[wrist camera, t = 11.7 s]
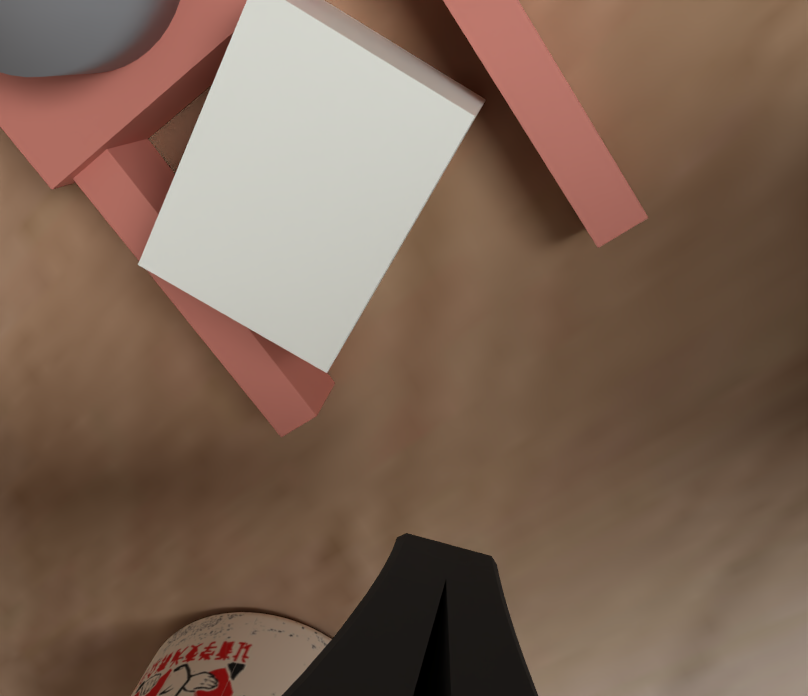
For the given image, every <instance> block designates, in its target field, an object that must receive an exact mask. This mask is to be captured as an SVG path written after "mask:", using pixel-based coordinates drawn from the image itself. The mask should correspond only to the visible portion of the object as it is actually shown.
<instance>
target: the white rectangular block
mask: <svg viewBox="0 0 808 696" xmlns="http://www.w3.org/2000/svg"><path fill="white" fill-rule="evenodd" d="M485 101H486V99H484V98H483V97H481V96H479V95H478V94H476V93H474V92H473V91H471V90H470V89H468V88H466V87H465V86H463V85H461V84H460V83H458V82H457V81H455V80H453V79H452V78H450V77H448V76H447V75H445V74H444V73H442V72H440V71H439V70H437V69H435V68H434V67H432V66H430V65H429V64H427V63H426V62H424V61H422V60H421V59H419V58H417V57H416V56H414V55H413V54H411V53H409V52H408V51H406V50H404V49H403V48H401V47H400V46H398V45H396V44H395V43H393V42H391V41H390V40H388V39H387V38H385V37H383V36H382V35H380V34H378V33H377V32H375V31H374V30H372V29H370V28H369V27H367V26H365V25H364V24H362V23H360V22H359V21H357V20H356V19H354V18H352V17H351V16H349V15H347V14H346V13H344V12H343V11H341V10H339V9H338V8H336V7H334V6H333V5H331V4H330V3H328V2H326V1H325V0H247V1H246V4H245V6H244V9H243V11H242V14H241V16H240V18H239V21H238V23H237V26H236V28H235V31H234V33H233V35H232V38H231V40H230V43H229V45H228V47H227V50H226V52H225V55H224V57H223V60H222V62H221V64H220V67H219V69H218V72H217V74H216V77H215V79H214V81H213V84H212V86H211V89H210V91H209V94H208V96H207V98H206V101H205V103H204V106H203V108H202V111H201V113H200V115H199V118H198V120H197V123H196V125H195V127H194V130H193V132H192V135H191V137H190V140H189V142H188V144H187V147H186V149H185V152H184V154H183V157H182V159H181V161H180V164H179V166H178V169H177V171H176V174H175V176H174V178H173V181H172V183H171V186H170V188H169V191H168V193H167V195H166V198H165V200H164V203H163V205H162V207H161V210H160V212H159V215H158V217H157V220H156V222H155V224H154V227H153V229H152V232H151V234H150V237H149V239H148V241H147V244H146V246H145V249H144V251H143V254H142V256H141V258H140V261H139V263H138V265H139V266H141V267H143V268H144V269H146V270H148V271H150V272H151V273H153V274H155V275H157V276H158V277H160V278H162V279H164V280H165V281H167V282H169V283H171V284H172V285H174V286H176V287H178V288H179V289H181V290H183V291H185V292H186V293H188V294H190V295H191V296H193V297H195V298H197V299H198V300H200V301H202V302H204V303H205V304H207V305H209V306H211V307H212V308H214V309H216V310H218V311H219V312H221V313H223V314H225V315H226V316H228V317H230V318H232V319H233V320H235V321H237V322H239V323H240V324H242V325H244V326H246V327H247V328H249V329H251V330H252V331H254V332H256V333H258V334H259V335H261V336H263V337H265V338H266V339H268V340H270V341H272V342H273V343H275V344H277V345H279V346H280V347H282V348H284V349H286V350H287V351H289V352H291V353H293V354H294V355H296V356H298V357H300V358H301V359H303V360H305V361H307V362H308V363H310V364H312V365H313V366H315V367H317V368H319V369H320V370H322V371H324V372H326V373H327V372H328V370H329V369H330V367H331V365H332V363H333V362H334V360H335V358H336V357H337V355H338V353H339V352H340V350H341V348H342V347H343V345H344V343H345V342H346V340H347V338H348V337H349V335H350V333H351V331H352V330H353V328H354V326H355V325H356V323H357V321H358V320H359V318H360V316H361V315H362V313H363V311H364V310H365V308H366V306H367V304H368V303H369V301H370V299H371V298H372V296H373V294H374V292H375V291H376V289H377V287H378V285H379V284H380V282H381V280H382V279H383V277H384V275H385V273H386V272H387V270H388V268H389V266H390V265H391V263H392V261H393V260H394V258H395V256H396V254H397V253H398V251H399V249H400V247H401V246H402V244H403V242H404V241H405V239H406V237H407V235H408V234H409V232H410V230H411V228H412V227H413V225H414V223H415V222H416V220H417V218H418V216H419V215H420V213H421V211H422V209H423V208H424V206H425V204H426V203H427V201H428V199H429V197H430V196H431V194H432V192H433V191H434V189H435V187H436V185H437V184H438V182H439V180H440V178H441V177H442V175H443V173H444V172H445V170H446V168H447V166H448V165H449V163H450V161H451V159H452V158H453V156H454V154H455V153H456V151H457V149H458V147H459V146H460V144H461V142H462V140H463V139H464V137H465V135H466V134H467V132H468V130H469V128H470V127H471V125H472V123H473V121H474V120H475V118H476V116H477V115H478V113H479V111H480V109H481V108H482V106H483V104H484V102H485Z"/></svg>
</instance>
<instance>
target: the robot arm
mask: <svg viewBox="0 0 808 696" xmlns="http://www.w3.org/2000/svg"><path fill="white" fill-rule="evenodd" d="M281 696H538V694H537V691H536V689H535V686H534V683H533V681H532V678H531V675H530V673H529V670H528V667H527V665H526V662H525V659H524V657H523V654H522V651H521V648H520V645H519V642H518V639H517V636H516V633H515V630H514V627H513V624H512V621H511V617H510V614H509V611H508V608H507V604H506V601H505V597H504V593H503V590H502V586H501V582H500V577H499V573H498V568H497V564H496V563H495V561H494V559H493V558H492V556H489V555H485V554H482V553H478V552H474V551H471V550H467V549H463V548H460V547H456V546H452V545H448V544H445V543H441V542H437V541H434V540H430V539H426V538H422V537H419V536H415V535H411V534H408V533H406V534H404V535H402V536H399V537H397V539H396V542H395V545H394V547H393V550H392V552H391V554H390V556H389V558H388V560H387V562H386V564H385V565H384V567H383V569H382V571H381V572H380V574H379V575H378V577H377V579H376V580H375V582H374V583H373V585H372V586H371V588H370V589H369V591H368V592H367V594H366V595H365V597H364V598H363V599H362V601H361V602H360V603H359V605H358V606H357V607H356V609H355V610H354V611H353V613H352V614H351V615H350V617H349V618H348V619H347V621H346V622H345V623H344V625H343V626H342V627H341V629H340V630H339V631H338V632H337V634H336V635H335V636H334V637H333V639H332V640H331V641H330V642H329V643H328V644H327V645H326V647H325V648H324V649H323V650H322V651H321V652H320V654H319V655H318V656H317V657H316V658H315V659H314V660H313V662H312V663H311V664H310V665H309V666H308V667H307V669H306V670H305V671H304V672H303V673H302V674H301V675H300V676H299V678H298V679H297V680H296V681H295V682H294V683H293V684H292V685H291V686H290V687H289V688H288V689H287V690H286V691H285V692H284V693H283V694H282V695H281Z"/></svg>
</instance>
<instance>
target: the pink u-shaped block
mask: <svg viewBox="0 0 808 696" xmlns="http://www.w3.org/2000/svg"><path fill="white" fill-rule="evenodd" d="M246 1H247V0H0V127H1V128H2V129H3V131H4V132H5V133H6V134H7V135H8V137H9V138H10V139H11V140H12V142H13V143H14V144H15V145H16V146H17V148H18V149H19V150H20V151H21V153H22V154H23V155H24V156H25V157H26V159H27V160H28V161H29V162H30V164H31V165H32V166H33V167H34V168H35V170H36V171H37V172H38V173H39V175H40V176H41V177H42V178H43V179H44V181H45V182H46V183H47V184H48V186H49V187H50V188H51V189H52V190H53V189H56V188H59V187H62V186H66V185H69V184H72V183H75V182H76V183H77V185H78V186H79V187H80V188H81V190H82V191H83V192H84V193H85V195H86V196H87V197H88V198H89V200H90V201H91V202H92V203H93V205H94V206H95V207H96V208H97V209H98V211H99V212H100V213H101V214H102V216H103V217H104V218H105V219H106V221H107V222H108V223H109V224H110V226H111V227H112V228H113V229H114V231H115V232H116V233H117V234H118V235H119V237H120V238H121V239H122V240H123V242H124V243H125V244H126V245H127V247H128V248H129V249H130V250H131V252H132V253H133V254H134V255H135V257H136V258H137V259H138V260H139V261H140V258H141V256H142V254H143V251H144V249H145V246H146V244H147V241H148V239H149V237H150V234H151V232H152V229H153V227H154V224H155V222H156V220H157V217H158V215H159V212H160V210H161V207H162V205H163V203H164V200H165V198H166V195H167V193H168V191H169V188H170V186H171V183H172V181H173V178H174V176H175V174H174V172H173V171H172V170H171V168H170V167H169V166H168V164H167V163H166V162H165V161H164V159H163V158H162V157H161V155H160V154H159V153H158V151H157V150H156V149H155V147H154V146H153V145H152V144H151V142H150V141H149V140H148V138H149V137H151V136H152V135H153V134H154V133H155V132H156V131H158V130H159V129H160V128H161V127H162V126H164V125H165V124H166V123H167V122H168V121H169V120H171V119H172V118H173V117H174V116H175V115H177V114H178V113H179V112H180V111H181V110H182V109H184V108H185V107H186V106H187V105H188V104H190V103H191V102H192V101H193V100H194V99H195V98H197V97H198V96H199V95H200V94H201V93H203V92H204V91H205V90H206V89H207V88H208V87H210V86H211V85H212V84H213V81H214V79H215V77H216V74H217V72H218V69H219V67H220V64H221V62H222V60H223V57H224V55H225V52H226V50H227V47H228V45H229V43H230V40H231V38H232V35H233V33H234V31H235V28H236V26H237V23H238V21H239V18H240V16H241V14H242V11H243V9H244V6H245V4H246ZM443 1H444V3H445V4H446V6H447V7H448V9H449V11H450V12H451V14H452V15H453V17H454V19H455V20H456V22H457V23H458V25H459V27H460V28H461V30H462V31H463V33H464V35H465V36H466V38H467V39H468V41H469V43H470V44H471V46H472V47H473V49H474V51H475V52H476V54H477V55H478V57H479V59H480V60H481V62H482V63H483V65H484V67H485V68H486V70H487V71H488V73H489V74H490V76H491V78H492V79H493V81H494V82H495V84H496V86H497V87H498V89H499V90H500V92H501V94H502V95H503V97H504V98H505V100H506V102H507V103H508V105H509V106H510V108H511V110H512V111H513V113H514V114H515V116H516V118H517V119H518V121H519V122H520V124H521V126H522V127H523V129H524V130H525V132H526V134H527V135H528V137H529V138H530V140H531V142H532V143H533V145H534V146H535V148H536V150H537V151H538V153H539V154H540V156H541V158H542V159H543V161H544V162H545V164H546V166H547V167H548V169H549V170H550V172H551V174H552V175H553V177H554V178H555V180H556V182H557V183H558V185H559V186H560V188H561V190H562V191H563V193H564V194H565V196H566V198H567V199H568V201H569V202H570V204H571V206H572V207H573V209H574V210H575V212H576V214H577V215H578V217H579V218H580V220H581V222H582V223H583V225H584V226H585V228H586V230H587V231H588V233H589V234H590V236H591V238H592V239H593V241H594V242H595V244H596V245H597V247H598V248H599V247H600V246H602V245H604V244H605V243H607V242H609V241H611V240H612V239H614V238H616V237H617V236H619V235H621V234H622V233H624V232H626V231H627V230H629V229H631V228H632V227H634V226H636V225H637V224H639V223H641V222H642V221H644V220H646V219H647V218H648V216H647V214H646V213H645V211H644V209H643V208H642V206H641V204H640V203H639V201H638V199H637V198H636V196H635V194H634V193H633V191H632V189H631V188H630V186H629V184H628V183H627V181H626V179H625V178H624V176H623V174H622V173H621V171H620V169H619V168H618V166H617V164H616V163H615V161H614V159H613V158H612V156H611V154H610V153H609V151H608V149H607V148H606V146H605V144H604V143H603V141H602V139H601V138H600V136H599V134H598V133H597V131H596V129H595V128H594V126H593V124H592V123H591V121H590V119H589V118H588V116H587V114H586V113H585V111H584V109H583V108H582V106H581V104H580V103H579V101H578V99H577V98H576V96H575V94H574V93H573V91H572V89H571V88H570V86H569V84H568V83H567V81H566V79H565V78H564V76H563V74H562V73H561V71H560V69H559V68H558V66H557V64H556V63H555V61H554V59H553V58H552V56H551V54H550V53H549V51H548V49H547V48H546V46H545V44H544V43H543V41H542V39H541V38H540V36H539V34H538V32H537V31H536V29H535V27H534V26H533V24H532V22H531V21H530V19H529V17H528V16H527V14H526V12H525V11H524V9H523V7H522V6H521V4H520V2H519V1H518V0H443ZM147 271H148V270H147ZM148 273H149V274H150V275H151V276H152V278H153V279H154V280H155V281H156V283H157V284H158V285H159V286H160V288H161V289H162V290H163V291H164V293H165V294H166V295H167V296H168V297H169V299H170V300H171V301H172V302H173V304H174V305H175V306H176V307H177V309H178V310H179V311H180V312H181V314H182V315H183V316H184V317H185V319H186V320H187V321H188V322H189V324H190V325H191V326H192V327H193V328H194V330H195V331H196V332H197V333H198V335H199V336H200V337H201V338H202V340H203V341H204V342H205V343H206V345H207V346H208V347H209V348H210V350H211V351H212V352H213V353H214V354H215V356H216V357H217V358H218V359H219V361H220V362H221V363H222V364H223V366H224V367H225V368H226V369H227V371H228V372H229V373H230V374H231V376H232V377H233V378H234V379H235V381H236V382H237V383H238V384H239V385H240V387H241V388H242V389H243V390H244V392H245V393H246V394H247V395H248V397H249V398H250V399H251V400H252V402H253V403H254V404H255V405H256V407H257V408H258V409H259V410H260V412H261V413H262V414H263V415H264V416H265V418H266V419H267V420H268V421H269V423H270V424H271V425H272V426H273V428H274V429H275V430H276V431H277V433H278V434H279V435H280V436H281V437H283V436H284V435H286V434H288V433H289V432H291V431H293V430H294V429H296V428H298V427H299V426H301V425H303V424H304V423H306V422H308V421H309V420H311V419H313V418H314V417H316V416H317V415H318V413H319V411H320V409H321V408H322V406H323V404H324V402H325V400H326V399H327V397H328V395H329V393H330V391H331V390H332V388H333V386H334V384H335V382H334V381H333V380H332V378H331V377H330V376H329V374H328V373H326V372H324V371H322V370H320V369H319V368H317V367H315V366H313V365H312V364H310V363H308V362H307V361H305V360H303V359H301V358H300V357H298V356H296V355H294V354H293V353H291V352H289V351H287V350H286V349H284V348H282V347H280V346H279V345H277V344H275V343H273V342H272V341H270V340H268V339H266V338H265V337H263V336H261V335H259V334H258V333H256V332H254V331H252V330H251V329H249V328H247V327H246V326H244V325H242V324H240V323H239V322H237V321H235V320H233V319H232V318H230V317H228V316H226V315H225V314H223V313H221V312H219V311H218V310H216V309H214V308H212V307H211V306H209V305H207V304H205V303H204V302H202V301H200V300H198V299H197V298H195V297H193V296H191V295H190V294H188V293H186V292H185V291H183V290H181V289H179V288H178V287H176V286H174V285H172V284H171V283H169V282H167V281H165V280H164V279H162V278H160V277H158V276H157V275H155V274H153V273H151V272H150V271H148Z"/></svg>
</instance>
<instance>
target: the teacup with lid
mask: <svg viewBox="0 0 808 696" xmlns="http://www.w3.org/2000/svg"><path fill="white" fill-rule="evenodd" d="M331 640H332V639H331V638H329V637H328V636H326V635H324V634H322V633H321V632H319V631H317V630H315V629H313V628H311V627H309V626H306V625H304V624H301V623H299V622H296V621H293V620H290V619H287V618H283V617H279V616H275V615H269V614H263V613H252V612H235V613H225V614H219V615H213V616H210V617H206V618H203V619H200V620H197V621H195V622H193V623H191V624H189V625H187V626H185V627H183V628H182V629H180V630H179V631H177V632H176V633H174V634H173V635H172V636H171V637H170V638H169V639H167V641H166V642H165V643H164V644H163V645H162V646H161V647H160V649H159V650H158V652H157V653H156V655H155V656H154V658H153V659H152V661H151V663H150V664H149V666H148V668H147V669H146V671H145V673H144V674H143V676H142V678H141V679H140V681H139V683H138V684H137V686H136V688H135V689H134V691H133V693H132V694H131V696H281V695H282V694H283V693H284V692H285V691H286V690H287V689H288V688H289V687H290V686H291V685H292V684H293V683H294V682H295V681H296V680H297V679H298V678H299V676H300V675H301V674H302V673H303V672H304V671H305V670H306V669H307V667H308V666H309V665H310V664H311V663H312V662H313V660H314V659H315V658H316V657H317V656H318V655H319V654H320V652H321V651H322V650H323V649H324V648H325V647H326V645H327V644H328V643H329V642H330V641H331Z"/></svg>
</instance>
